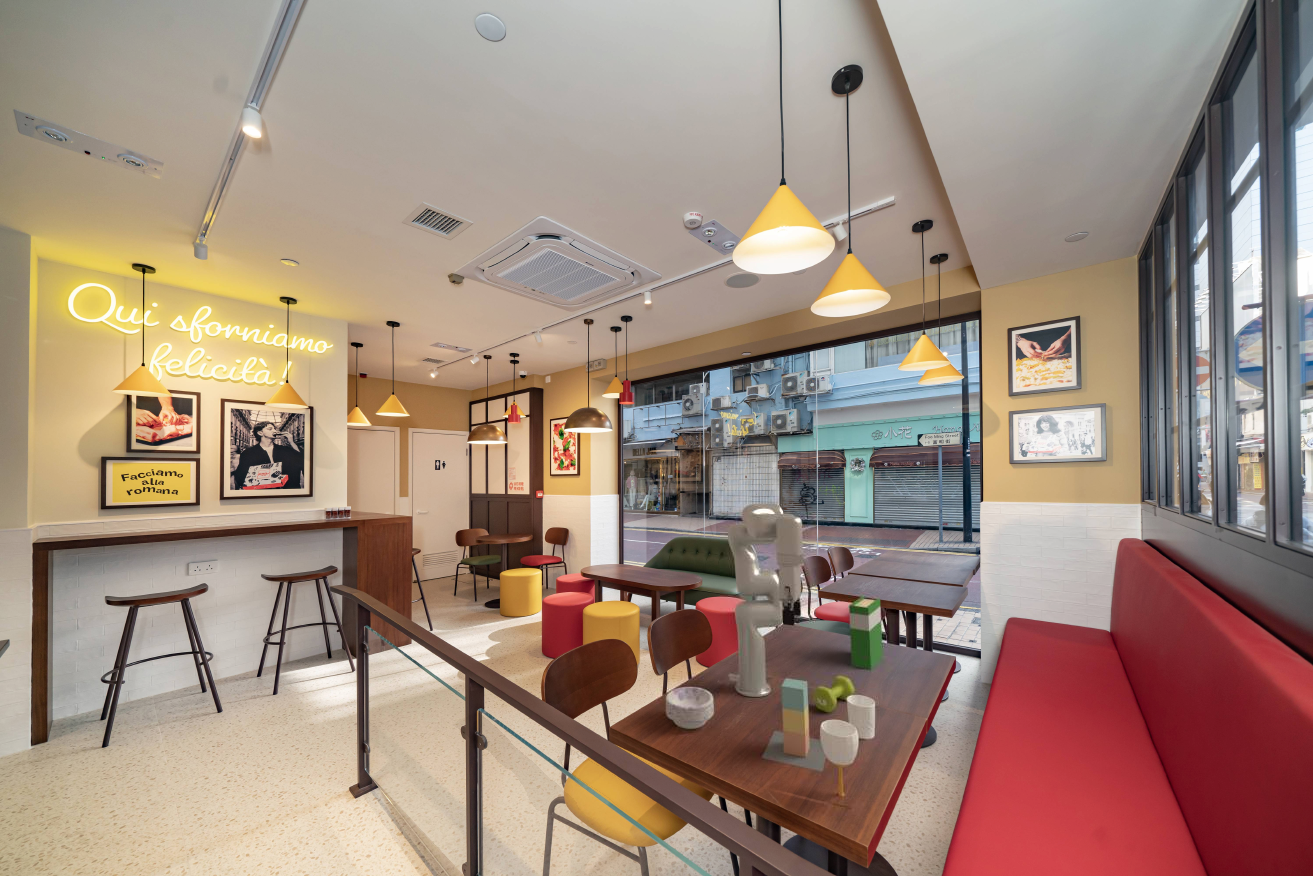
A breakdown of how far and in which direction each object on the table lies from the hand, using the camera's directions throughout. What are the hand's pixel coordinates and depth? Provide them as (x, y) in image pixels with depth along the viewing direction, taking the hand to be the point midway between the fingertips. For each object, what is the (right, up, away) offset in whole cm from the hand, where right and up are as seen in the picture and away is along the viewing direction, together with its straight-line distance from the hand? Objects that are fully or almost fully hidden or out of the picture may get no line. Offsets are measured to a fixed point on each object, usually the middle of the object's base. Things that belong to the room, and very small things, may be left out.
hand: (792, 619), depth 145 cm
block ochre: (+1, -30, -2) cm, 30 cm away
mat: (+1, -36, -3) cm, 36 cm away
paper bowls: (-28, -38, +16) cm, 50 cm away
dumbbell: (+21, -38, +26) cm, 51 cm away
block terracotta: (+1, -36, -3) cm, 36 cm away
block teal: (0, -24, -2) cm, 24 cm away
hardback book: (+48, -40, +64) cm, 90 cm away
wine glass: (+6, -35, -22) cm, 42 cm away
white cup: (+22, -37, +6) cm, 43 cm away
